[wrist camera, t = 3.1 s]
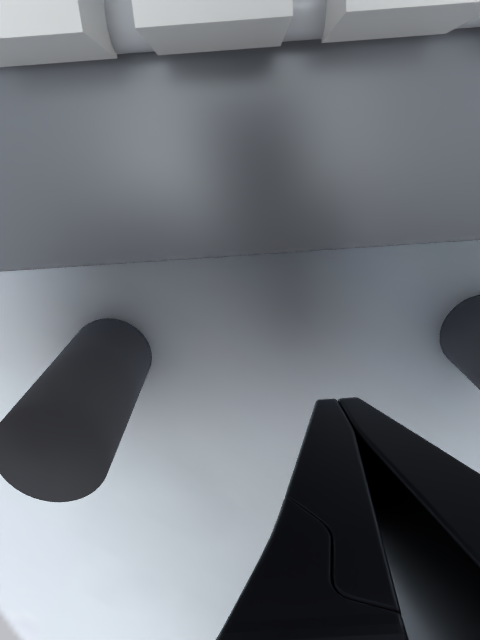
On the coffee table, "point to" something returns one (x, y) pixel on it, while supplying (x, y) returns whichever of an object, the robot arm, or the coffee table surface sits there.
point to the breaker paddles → (209, 25)
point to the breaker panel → (241, 151)
